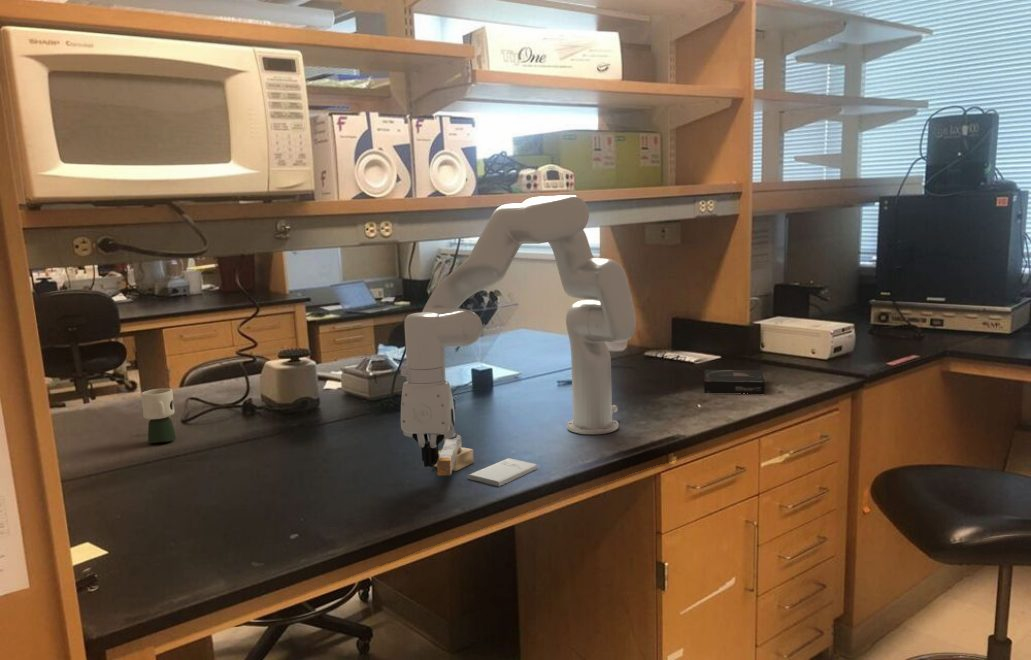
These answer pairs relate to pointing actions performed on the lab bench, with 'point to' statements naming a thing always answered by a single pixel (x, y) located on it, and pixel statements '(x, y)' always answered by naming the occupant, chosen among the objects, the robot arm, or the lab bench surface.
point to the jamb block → (462, 458)
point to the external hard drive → (503, 472)
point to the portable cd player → (734, 381)
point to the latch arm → (448, 455)
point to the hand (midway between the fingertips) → (430, 464)
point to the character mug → (159, 414)
